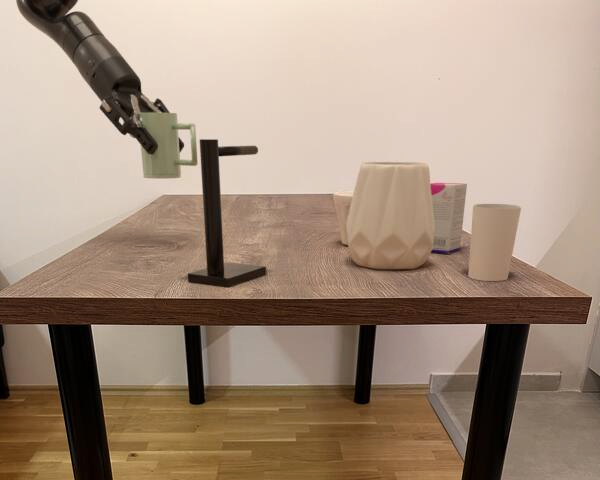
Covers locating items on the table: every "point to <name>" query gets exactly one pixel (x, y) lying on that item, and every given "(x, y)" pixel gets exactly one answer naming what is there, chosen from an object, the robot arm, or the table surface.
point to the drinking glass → (492, 241)
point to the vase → (391, 216)
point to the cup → (343, 211)
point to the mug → (166, 145)
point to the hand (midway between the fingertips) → (167, 150)
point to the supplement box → (448, 216)
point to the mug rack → (219, 221)
